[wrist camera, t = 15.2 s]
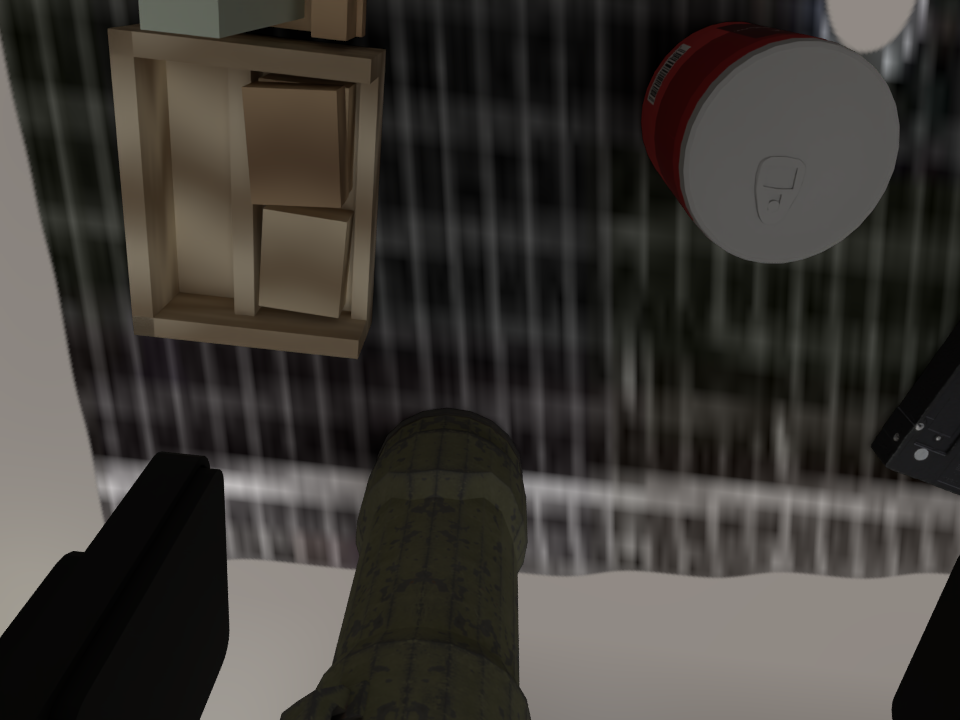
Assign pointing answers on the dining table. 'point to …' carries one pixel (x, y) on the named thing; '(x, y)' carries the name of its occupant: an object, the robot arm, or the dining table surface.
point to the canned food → (770, 138)
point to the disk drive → (928, 423)
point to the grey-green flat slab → (216, 15)
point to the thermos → (433, 581)
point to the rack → (227, 186)
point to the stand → (331, 19)
